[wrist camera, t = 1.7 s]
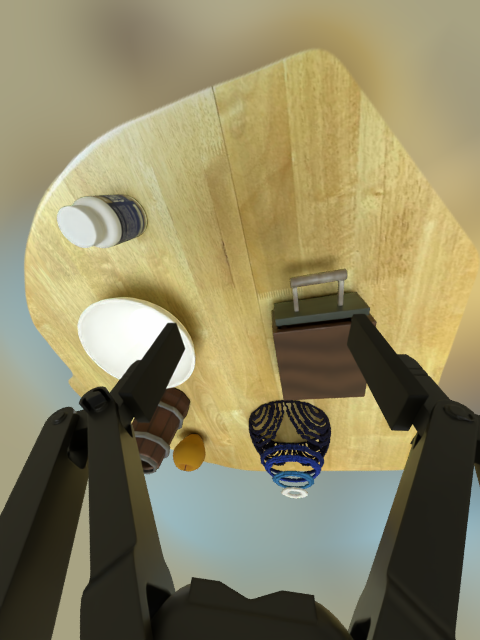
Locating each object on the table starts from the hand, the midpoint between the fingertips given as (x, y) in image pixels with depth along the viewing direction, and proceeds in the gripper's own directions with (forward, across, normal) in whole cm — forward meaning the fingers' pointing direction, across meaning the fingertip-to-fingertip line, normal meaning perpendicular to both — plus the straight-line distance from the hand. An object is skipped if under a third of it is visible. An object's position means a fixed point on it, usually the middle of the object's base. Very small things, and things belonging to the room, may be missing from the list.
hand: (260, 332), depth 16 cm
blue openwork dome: (+18, +4, -43) cm, 47 cm away
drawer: (+17, +8, -11) cm, 22 cm away
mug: (+18, -28, -35) cm, 48 cm away
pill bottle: (+18, -18, +8) cm, 27 cm away
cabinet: (+18, +9, -16) cm, 25 cm away
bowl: (+18, -21, -11) cm, 30 cm away
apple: (+18, -23, -51) cm, 59 cm away
